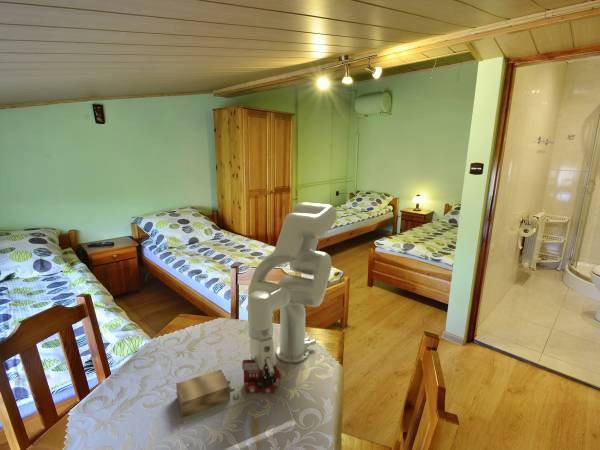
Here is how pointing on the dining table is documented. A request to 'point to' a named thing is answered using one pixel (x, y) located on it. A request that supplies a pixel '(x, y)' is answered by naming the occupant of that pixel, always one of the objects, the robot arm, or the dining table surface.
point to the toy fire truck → (258, 377)
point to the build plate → (234, 400)
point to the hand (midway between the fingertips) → (261, 377)
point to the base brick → (202, 392)
